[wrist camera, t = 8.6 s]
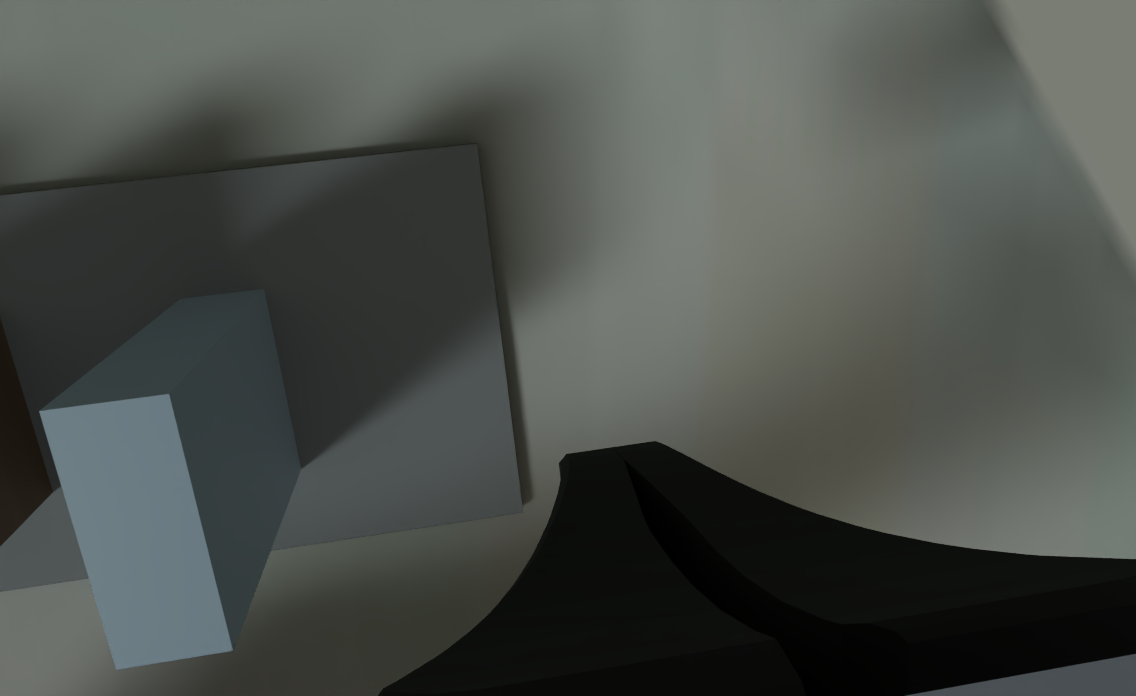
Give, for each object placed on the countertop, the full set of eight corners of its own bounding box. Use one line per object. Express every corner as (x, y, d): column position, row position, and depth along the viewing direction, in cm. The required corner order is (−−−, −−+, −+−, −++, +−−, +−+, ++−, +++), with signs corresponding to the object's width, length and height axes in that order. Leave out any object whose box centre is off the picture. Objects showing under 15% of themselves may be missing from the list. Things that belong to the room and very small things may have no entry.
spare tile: (264, 288, 19) (168, 393, 13) (301, 469, 21) (232, 651, 14) (180, 298, 19) (39, 411, 12) (223, 480, 20) (116, 669, 14)
